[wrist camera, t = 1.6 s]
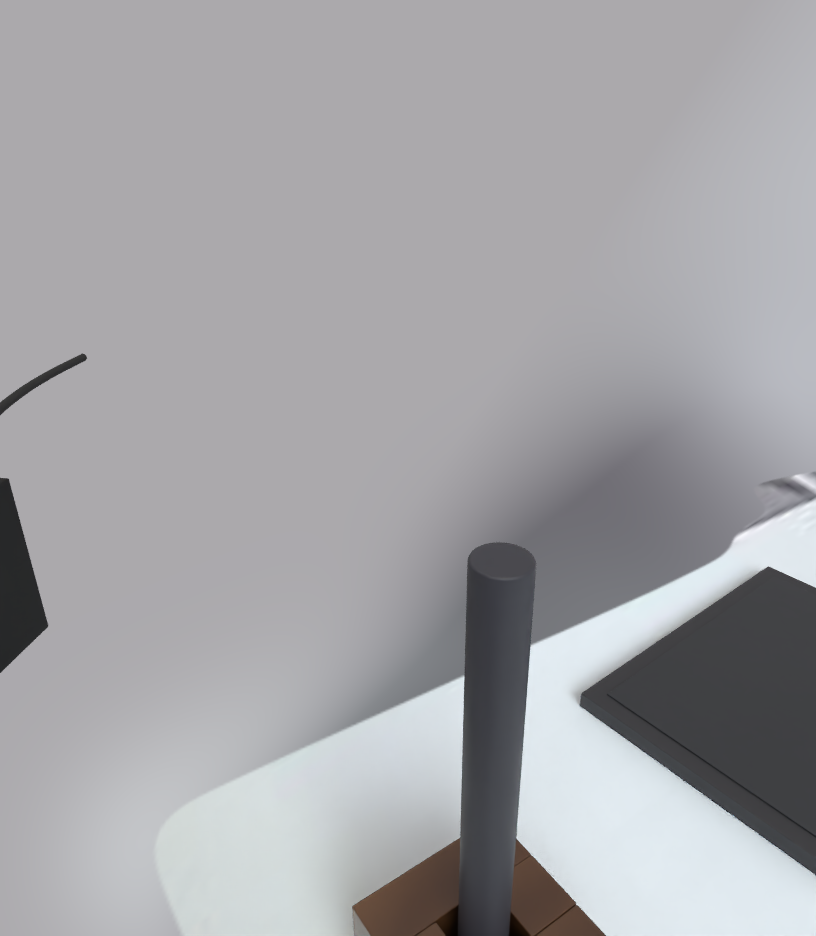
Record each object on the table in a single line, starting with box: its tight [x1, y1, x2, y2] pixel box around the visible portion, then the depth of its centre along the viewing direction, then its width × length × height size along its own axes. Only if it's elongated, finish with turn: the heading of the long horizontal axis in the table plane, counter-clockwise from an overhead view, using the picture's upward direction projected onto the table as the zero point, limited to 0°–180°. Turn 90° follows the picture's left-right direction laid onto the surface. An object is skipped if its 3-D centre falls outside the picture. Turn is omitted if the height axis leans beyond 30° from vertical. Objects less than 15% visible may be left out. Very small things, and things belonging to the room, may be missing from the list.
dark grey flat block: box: [580, 567, 816, 874], centre depth 43 cm, size 20×14×1 cm
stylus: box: [458, 543, 536, 936], centre depth 25 cm, size 2×2×20 cm
